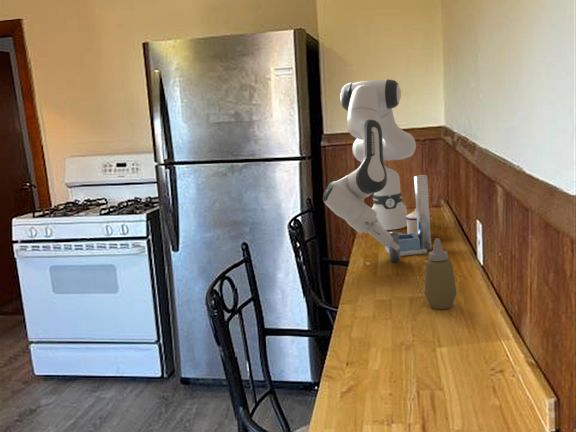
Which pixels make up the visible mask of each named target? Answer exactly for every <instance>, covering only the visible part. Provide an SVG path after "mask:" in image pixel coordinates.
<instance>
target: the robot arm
mask: <svg viewBox="0 0 576 432" xmlns="http://www.w3.org/2000/svg"><path fill="white" fill-rule="evenodd" d="M340 91H341V92H340V96H339V97H340V103H341V106H342V108H343V109H345V111H347V121H346V124H347V129H348V130H347V131H348V133H349V134H350V136H352V137H354V138H355V140H354V142H353V143H352V154H353V157H354V158H355V160H357V161H359V162H360V163H361V164H360V165H359V166H358V168H356V169H355V170H353V171H352V172H350V173H348V174H347V175H345V176H344V177H342V178H340V179H338V180H334V181H331V182H330V183H329V184H328V185H327V187H326V189H325V190H324V192H323V195H322V200H323V203H324V204H325V205H326V206H327V208H329V210H330V211H332V212H333V213H334V214H335V215H336V216H338V217H339V218H342V219H343V220H344V221H345V222H346V223H347V224H348V225H349V226H350V227H351V228H353V229H354V230H355V232H358V234H363V233H365V234H368V233H369V234H370V235H371V236H372V237H373V238H374V239H375V240H377V241H378V242H379V243H381V245H383V246H384V247H385V246H386V247H388V246H391V247H392V248H394V249H395V250H398V249H399V248H400V246H399V245H398V244H397V243H395V242H394V241H393V238H392V236H391V235H390V234H389V233H388V232H389V231H394V230H398V229H399V230H400V229H403V228H407V219H406V216H407V215H408V211H407V205H405V204H404V203H403V193H402V191H401V180H400V175H399V173H398V172H397V171H396V170H394V169H392V168H389V167H387V165H385V161H398V160H399V161H400V160H405V159H407V158H411V157H412V156H413V155H414V153H415V151H416V148H417V143H416V140H415V137H414V136H413V135H412V134H411V133H409V132H406V131H405V130H403V129H402V128H401V127H399V125H398V124H397V123H396V120H395V117H394V113H393V109H394V108H396V107H397V106H399V104H400V100H401V97H402V91H401V87H400V85H399V83H398V82H397V81H396V80H394V79H390V78H389V79H369V80H362V81H357V82H353V81H352V82H348V83H345V84H344V86H342V88H341V90H340ZM371 195H372V203H373V205H372V207H371V206H369V205H368V204H367V203H366V202H365V199H366V198H367V197H370V196H371Z"/></svg>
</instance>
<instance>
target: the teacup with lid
mask: <svg viewBox="0 0 576 432" xmlns="http://www.w3.org/2000/svg"><path fill="white" fill-rule="evenodd" d="M429 217H430V218H431V215H430V213H429ZM406 219H407V226H406V228H407V229H406V231H407V233H406V234H410V233H414V234H415V235H417V236H418V231H417V215H416V208H415V209H414V210H413V211H411V212H410V213H407V216H406ZM431 233H432V230H431V228H430V234H431Z"/></svg>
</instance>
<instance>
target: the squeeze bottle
mask: <svg viewBox="0 0 576 432" xmlns="http://www.w3.org/2000/svg"><path fill="white" fill-rule="evenodd" d="M448 255H449V253H448V251H446V250H444V249H443V246H442V242H441V239H440V238H438V237H437V238H434V243H433V249H432V250H431V251H429V252H428V260H426V262H425V269H424V270H425V271H424V273H425V274H424V275H425V276H424V297H425V298H426V301H427V303H428V305H429V308H431V309H435V310H448V309H451V308H452V307H453V306H454V302H455V300H456V297H457V287H456V281H455V274H454V268H453V262H452V261H451V260H450V259H449V258H448V257H449V256H448Z"/></svg>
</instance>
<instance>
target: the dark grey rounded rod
mask: <svg viewBox="0 0 576 432" xmlns="http://www.w3.org/2000/svg"><path fill="white" fill-rule="evenodd" d="M387 232H388V233H389V234H390V235H391V236H392V238H393V241H394V242H395V243H397V244H398V245H399V236H398V232H399V231H396V230H389V231H387ZM388 255H389V262H390V263H393V264H396V263H400V262H401V256H400V250H399V249H398V250H395V249H394V248H392V247H391V246H389V253H388Z"/></svg>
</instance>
